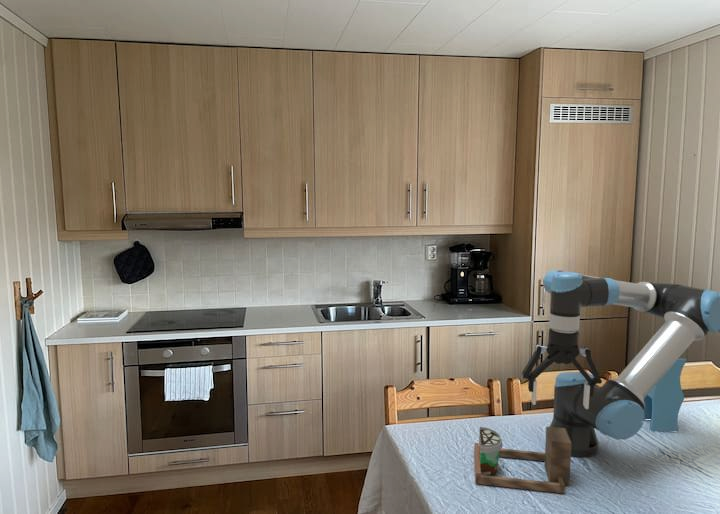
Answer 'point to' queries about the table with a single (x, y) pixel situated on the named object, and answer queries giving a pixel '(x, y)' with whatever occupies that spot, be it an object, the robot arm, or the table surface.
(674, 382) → the blue wavy channel stand
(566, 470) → the walnut bed frame
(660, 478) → the table surface
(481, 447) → the food container
